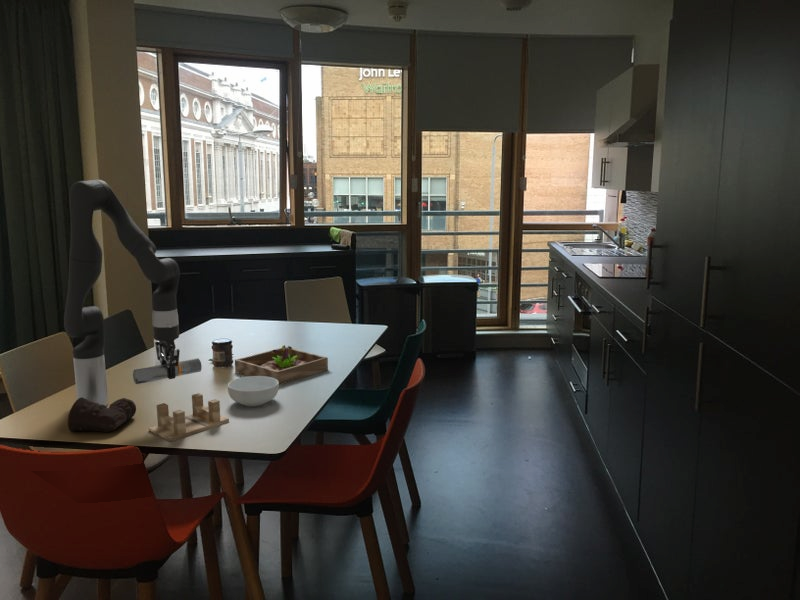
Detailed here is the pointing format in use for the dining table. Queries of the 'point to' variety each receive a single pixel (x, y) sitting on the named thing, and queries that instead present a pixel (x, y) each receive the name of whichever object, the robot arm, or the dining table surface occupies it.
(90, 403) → the dark brown boot
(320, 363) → the planter box
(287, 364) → the plant
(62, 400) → the dining table surface
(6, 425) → the dining table surface
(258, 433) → the dining table surface
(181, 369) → the tube
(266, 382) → the cereal bowl
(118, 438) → the dining table surface
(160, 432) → the cradle board
